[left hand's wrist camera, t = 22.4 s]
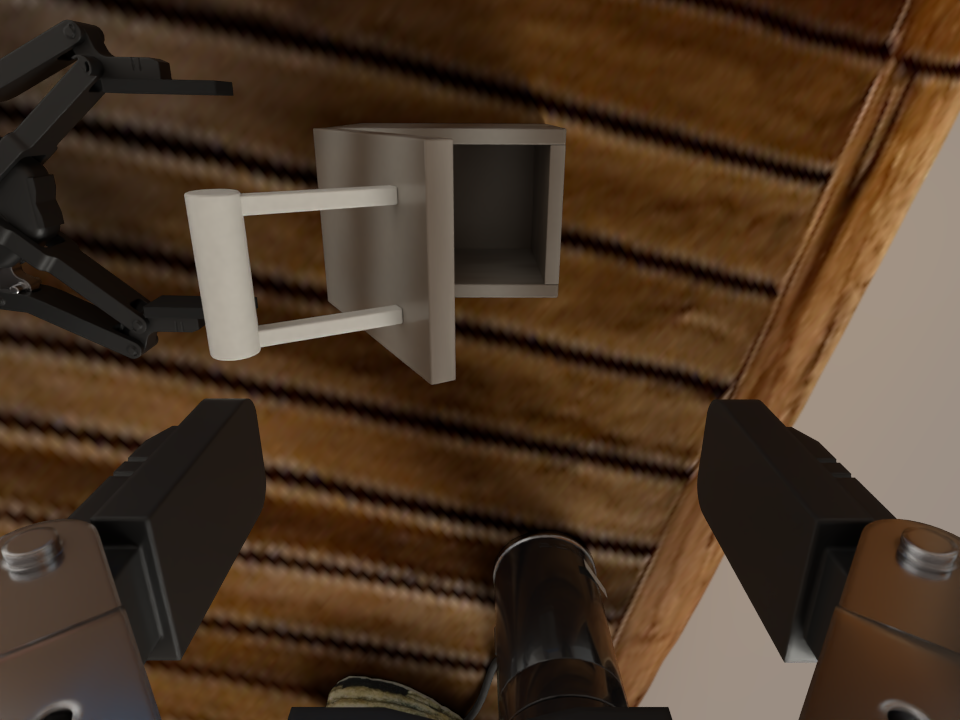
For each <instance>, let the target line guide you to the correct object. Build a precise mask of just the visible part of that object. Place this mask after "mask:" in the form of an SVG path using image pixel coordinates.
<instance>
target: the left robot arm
mask: <svg viewBox="0 0 960 720" xmlns="http://www.w3.org/2000/svg"><path fill="white" fill-rule="evenodd" d="M697 490H698V499H699V504H700V508H701V511H702V513H703V515H704V517H705V519H706V521H707V522H708V524H709V526H710V528H711V530H712V531H713V533H714V535H715V537H716V539H717V541H718V542H719V544H720V546H721V548H722V550H723V552H724V553H725V555H726V557H727V559H728V561H729V562H730V564H731V566H732V568H733V570H734V572H735V573H736V575H737V577H738V579H739V581H740V582H741V584H742V586H743V588H744V590H745V592H746V593H747V595H748V597H749V599H750V601H751V603H752V604H753V606H754V608H755V610H756V612H757V613H758V615H759V617H760V619H761V621H762V623H763V624H764V626H765V628H766V630H767V632H768V633H769V635H770V637H771V639H772V641H773V643H774V644H775V646H776V648H777V650H778V652H779V653H780V655H781V657H782V659H783V661H784V662H817V665H816V668H815V671H814V674H813V677H812V680H811V683H810V686H809V689H808V692H807V695H806V699H805V702H804V705H803V708H802V711H801V714H800V717H799V720H960V537H958V536H956V535H954V534H952V533H949V532H947V531H945V530H942V529H940V528H937V527H934V526H931V525H927V524H924V523H920V522H915V521H910V520H903V519H896V518H895V517H894V516H893V515H892V514H891V513H890V512H889V511H888V510H887V509H886V508H885V507H884V506H883V505H882V504H881V503H880V502H879V501H878V500H877V499H876V498H875V497H874V496H873V495H872V494H871V493H870V492H869V491H868V490H867V489H866V488H865V487H864V486H863V485H862V484H861V483H860V482H859V481H858V480H857V479H856V478H851V473H850V472H849V471H848V470H847V469H846V468H845V467H844V466H843V465H842V464H840V463H836V459H835V458H834V457H833V456H832V455H831V454H830V453H829V452H828V451H827V450H826V449H825V448H824V447H823V446H822V445H821V444H820V443H819V442H818V441H816V440H814V439H812V438H811V437H809V436H807V435H805V434H803V433H801V432H800V431H798V430H796V429H794V428H792V427H786V426H785V425H784V424H783V423H782V422H781V421H780V420H779V419H778V418H777V417H776V416H775V415H774V414H773V413H772V412H771V411H770V410H769V409H768V408H767V407H766V406H765V405H764V403H763V402H761V401H760V400H713V401H712V402H711V404H710V406H709V408H708V412H707V418H706V425H705V431H704V438H703V445H702V452H701V458H700V465H699V472H698V480H697ZM265 493H266V476H265V469H264V462H263V455H262V448H261V441H260V435H259V428H258V421H257V414H256V409H255V406H254V404H253V402H252V401H251V400H250V399H204V400H202V401H201V402H200V403H199V404H198V406H197V407H196V408H195V409H194V410H193V411H192V412H191V413H190V414H189V415H188V416H187V417H186V418H185V419H184V420H183V421H182V422H181V423H180V424H179V426H172V427H170V428H168V429H166V430H164V431H162V432H161V433H159V434H157V435H155V436H153V437H152V438H150V439H148V440H146V441H145V442H144V443H143V444H142V445H141V446H140V447H139V448H138V449H137V450H136V451H135V452H134V453H133V454H132V455H131V456H130V457H129V458H128V462H124V463H123V464H122V465H121V466H120V467H119V468H118V469H117V470H116V471H115V472H114V476H110V477H109V478H108V479H107V480H106V481H105V482H104V483H103V484H102V485H101V486H100V487H99V488H98V489H97V490H96V491H95V492H94V493H93V494H92V495H91V496H90V497H89V498H88V499H87V500H86V501H85V502H84V503H83V504H81V505H80V506H79V507H78V508H77V509H76V510H75V511H74V512H73V513H72V514H71V515H70V516H69V517H68V518H67V519H57V520H50V521H45V522H40V523H36V524H32V525H29V526H26V527H23V528H20V529H18V530H15V531H13V532H11V533H8V534H6V535H4V536H2V537H0V720H161V717H160V714H159V711H158V708H157V705H156V702H155V699H154V695H153V692H152V689H151V686H150V683H149V680H148V677H147V674H146V671H145V668H144V664H145V662H146V661H147V660H181V658H182V656H183V655H184V653H185V651H186V649H187V647H188V645H189V644H190V642H191V640H192V638H193V636H194V634H195V633H196V631H197V629H198V627H199V625H200V623H201V621H202V620H203V618H204V616H205V614H206V612H207V610H208V609H209V607H210V605H211V603H212V601H213V599H214V598H215V596H216V594H217V592H218V590H219V588H220V586H221V585H222V583H223V581H224V579H225V577H226V575H227V574H228V572H229V570H230V568H231V566H232V564H233V562H234V561H235V559H236V557H237V555H238V553H239V551H240V550H241V548H242V546H243V544H244V542H245V540H246V539H247V537H248V535H249V533H250V531H251V529H252V527H253V526H254V524H255V522H256V520H257V518H258V516H259V515H260V513H261V510H262V508H263V504H264V500H265ZM493 583H494V588H495V622H496V626H495V628H494V633H495V655H497V657H495V658H494V659H493V661H492V662H491V664H490V666H489V669H488V671H487V674H486V676H485V679H484V682H483V685H482V688H481V691H480V694H479V696H478V699H477V701H476V702H475V704H474V706H473V708H472V709H471V710H470V712H469V713H468V714H467V716H466V717H465V718H464V719H463V720H473V719H474V718H475V716H476V715H477V714H478V712H479V710H480V709H481V707H482V705H483V703H484V701H485V698H486V696H487V693H488V690H489V688H490V685H491V682H492V679H493V676H494V673H495V671H496V669H497V687H498V713H499V720H672V717H671V714H670V711H669V708H668V707H629V706H628V702H627V698H626V694H625V691H624V687H623V683H622V679H621V675H620V671H619V667H618V663H617V659H616V655H615V651H614V647H613V643H612V639H611V635H610V631H609V627H608V623H607V618H606V614H605V610H604V606H603V602H602V598H601V594H600V590H599V587H600V588H601V589H602V591H603V592H604V594H605V595H606V597H607V594H606V591H605V589H604V587H603V586H602V584H601V583H600V581H599V580H598V579H597V577H596V569H595V565H594V561H593V558H592V556H591V554H590V552H589V551H588V549H587V548H586V547H585V546H584V545H583V544H582V543H581V542H580V541H578V540H577V539H575V538H574V537H572V536H570V535H567V534H564V533H561V532H556V531H536V532H531V533H527V534H524V535H522V536H519V537H517V538H516V539H514V540H512V541H511V542H509V543H508V544H507V545H506V546H505V547H504V548H503V549H502V550H501V552H500V553H499V555H498V556H497V558H496V561H495V563H494V568H493ZM598 585H599V586H598ZM288 720H435V719H431V718H427V717H422V716H418V715H414V714H410V713H406V712H402V711H398V710H394V709H390V708H386V707H292V708H291V711H290V714H289V717H288Z"/></svg>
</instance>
